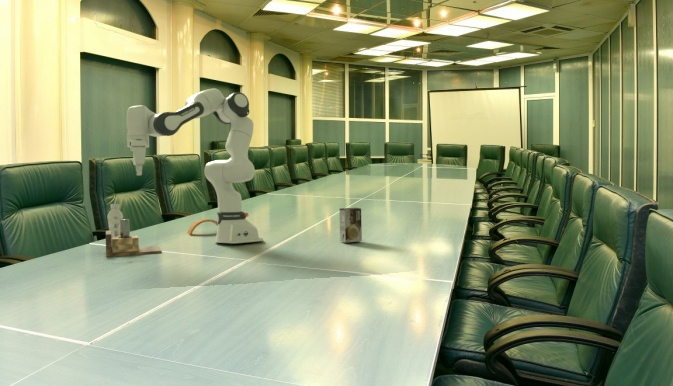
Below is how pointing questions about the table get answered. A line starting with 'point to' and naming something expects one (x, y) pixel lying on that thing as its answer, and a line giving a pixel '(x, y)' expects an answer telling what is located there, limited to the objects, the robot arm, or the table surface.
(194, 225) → the arch
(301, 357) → the table surface
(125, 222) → the dowel
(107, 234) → the jig
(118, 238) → the tan square frame
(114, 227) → the plastic bottle
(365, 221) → the table surface
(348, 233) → the coffee box
